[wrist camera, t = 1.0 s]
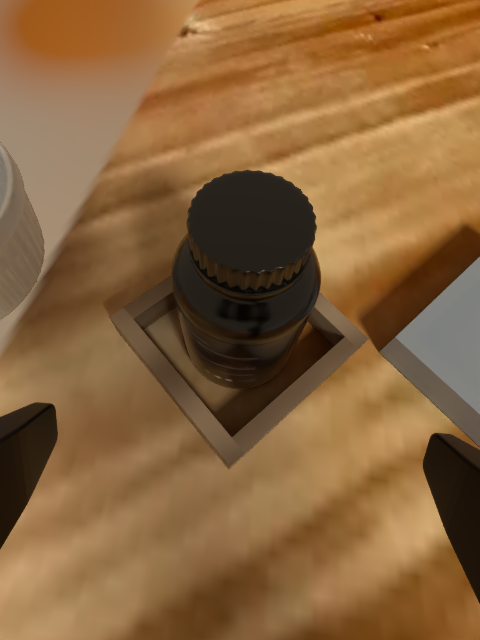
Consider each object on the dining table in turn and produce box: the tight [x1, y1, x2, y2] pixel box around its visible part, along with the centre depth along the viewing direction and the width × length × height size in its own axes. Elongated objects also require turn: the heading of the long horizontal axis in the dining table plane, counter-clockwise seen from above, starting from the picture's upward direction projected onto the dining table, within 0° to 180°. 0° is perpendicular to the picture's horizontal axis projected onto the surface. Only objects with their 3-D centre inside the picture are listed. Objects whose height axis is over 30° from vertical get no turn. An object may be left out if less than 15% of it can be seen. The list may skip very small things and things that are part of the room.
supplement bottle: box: [171, 170, 321, 389], centre depth 19 cm, size 7×7×12 cm
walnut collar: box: [110, 276, 369, 469], centre depth 24 cm, size 11×11×2 cm
